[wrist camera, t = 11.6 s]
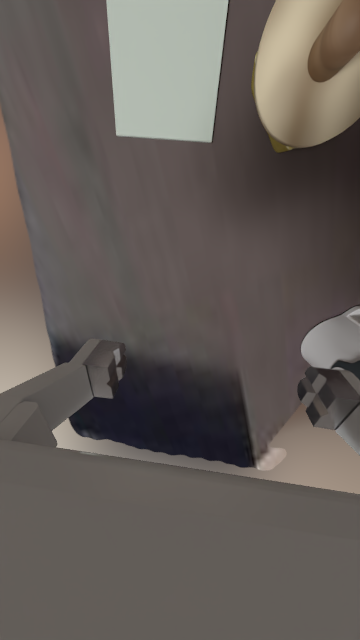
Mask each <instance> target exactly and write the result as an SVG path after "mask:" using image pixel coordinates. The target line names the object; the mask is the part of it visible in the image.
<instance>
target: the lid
mask: <svg viewBox="0 0 360 640" xmlns="http://www.w3.org/2000/svg"><path fill="white" fill-rule="evenodd" d="M254 97H255V104H256V108H257V112H258V116H259V118H260V120H261V123H262V125H263V126H264V128H265V130H266V131H267V132H268V133H269V135H270V136H271V137H272V138H273V139H275V140H276V141H277V142H279V143H281V144H282V145H285V146H288V147H293V148H307V147H312V146H315V145H318V144H321V143H323V142H325V141H327V140H329V139H331V138H333V137H335V136H337V135H338V134H340V133H342V132H343V131H344V130H346V129H347V128H348V127H350V126H351V125H352V124H353V123H354V122H355V121H357V120H358V119H359V118H360V0H276V2H275V4H274V6H273V8H272V10H271V13H270V16H269V18H268V21H267V23H266V26H265V29H264V32H263V35H262V38H261V41H260V45H259V48H258V53H257V58H256V63H255V71H254Z"/></svg>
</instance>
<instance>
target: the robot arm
mask: <svg viewBox="0 0 360 640" xmlns="http://www.w3.org/2000/svg"><path fill="white" fill-rule="evenodd" d="M125 350H126V349H125V344H124V343H120V342H113V341H107V340H98V339H89V340H88V341H87V342H86V343H85V345H84V346H83V347H82V348H81V349H80V351H79V352H78V353H77V354H76V355H75V356H74V358H73V359H72V360H71V361H70V362H69V363H64V364H62V365H59V366H57V367H55V368H53V369H51V370H49V371H47V372H45V373H43V374H41V375H39V376H36V377H34V378H32V379H30V380H28V381H26V382H24V383H22V384H20V385H17V386H15V387H14V388H11V389H9V390H7V391H5V392H3V393H1V394H0V640H360V494H354V493H347V492H341V491H335V490H328V489H321V488H315V487H309V486H302V485H296V484H290V483H283V482H277V481H269V480H264V479H257V478H250V477H244V476H238V475H231V474H225V473H219V472H212V471H206V470H199V469H192V468H186V467H179V466H173V465H167V464H160V463H154V462H147V461H141V460H134V459H128V458H121V457H115V456H108V455H102V454H95V453H89V452H82V451H76V450H69V449H63V448H56V446H57V441H56V439H55V437H54V435H53V433H52V430H53V429H55V428H56V427H57V426H58V425H60V424H61V423H62V422H63V421H65V420H66V419H67V418H68V417H70V416H71V415H72V414H73V413H75V412H76V411H77V410H78V409H80V408H81V407H82V406H83V405H85V404H86V403H87V402H88V401H90V400H91V399H92V398H93V396H95V397H104V398H113V397H114V395H115V393H116V391H117V389H118V387H119V383H118V380H120V379H121V378H123V376H124V373H125V370H126V365H127V359H126V356H125V355H124V352H125ZM301 353H302V356H303V357H304V359H305V360H306V361H307V362H308V363H310V364H311V365H312V367H309V368H308V369H307V370H306V372H305V375H306V377H305V378H303V379H301V380H300V382H299V384H298V390H297V392H298V396H299V398H300V401H301V402H302V403H303V404H304V405H306V406H307V409H306V413H307V415H308V417H309V419H310V420H311V423H312V424H313V426H314V427H320V428H325V429H331V430H336V432H337V433H338V434H339V435H340V436H341V437H342V438H343V439H344V440H345V441H346V442H347V443H348V444H349V445H350V446H351V447H352V448H353V449H354V450H355V451H356V452H357V453H358V454H359V455H360V306H355V307H353V308H351V309H349V310H348V311H346V312H345V313H343V314H342V315H340V316H337V317H334V318H331V319H329V320H326V321H324V322H322V323H320V324H319V325H317V326H316V327H314V328H313V329H312V330H311V331H310V332H309V333H308V334H307V335H306V337H305V338H304V340H303V342H302V345H301Z"/></svg>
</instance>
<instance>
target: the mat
mask: <svg viewBox="0 0 360 640" xmlns="http://www.w3.org/2000/svg"><path fill="white" fill-rule="evenodd" d="M106 1H107V14H108V28H109V41H110V55H111V68H112V82H113V95H114V109H115V122H116V135H117V136H122V137H136V138H150V139H165V140H179V141H193V142H207V143H211V142H212V134H213V126H214V117H215V109H216V100H217V92H218V84H219V75H220V67H221V59H222V50H223V42H224V33H225V25H226V17H227V8H228V0H106Z"/></svg>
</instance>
